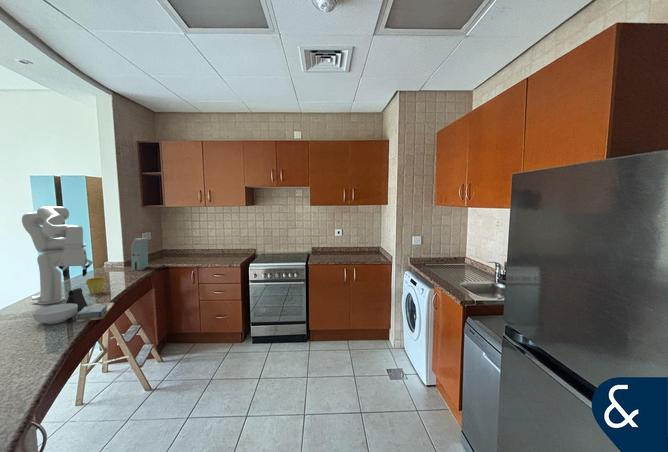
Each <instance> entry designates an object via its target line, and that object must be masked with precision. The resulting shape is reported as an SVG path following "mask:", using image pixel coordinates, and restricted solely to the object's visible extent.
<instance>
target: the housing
mask: <svg viewBox="0 0 668 452" xmlns="http://www.w3.org/2000/svg"><path fill="white" fill-rule="evenodd" d="M106 310H107V305H97V306H91V305H89V306H88V305H87V307H84V308H83V309H82V310H80V311H78V313H76V321H77V320H79V319H87V318H96V317H101V316H102V315H103V314H104V313H105V312H106Z"/></svg>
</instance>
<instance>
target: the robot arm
mask: <svg viewBox="0 0 668 452" xmlns="http://www.w3.org/2000/svg"><path fill="white" fill-rule="evenodd" d="M69 216H70V212H69V209H68V208H66V207H65V206H49V205H48V206H42V207H41V206H40V208H38V209H36V211H33V212H31V211H30V212H27V213H24V214H23V215H22V217H21V223H22V227H23V228H24V229H25V231H26V232H27V233H28V234H29V236H30V237H31V241H32V242H33V246H34V247H35V250H36V251H37V252H38V253H41V254H39V255H38V256H37V259H36V260H37V266H38V268H39V281H40V282H39V283H40V286H39V287H40V294H39V295H38V296H36V295H35V296H31V300H32V301H37V302H36V304H37V305H41V306H42V305H51V304H57V303H61V302H64V301H65V300H66V297H65V296H63V294H62V292H63V291H62V276H63V278H67V277H68V276H69V272H68V271H69V270H68V268H69V267H82V271H81V272H82V277H85V276H86V275H87V274H88V268H89V267H91V266H92V264H94V261H93V260H90V259H88V257H87V251H86V250H87V249H86V247H87V244H85V243H84V228H83V226H81V225H75V224H64V223H65V221H66V220H68V218H69ZM58 268H59V269H60V270H62V273H61V271H60V270H59V269H58Z"/></svg>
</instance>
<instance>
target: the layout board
mask: <svg viewBox="0 0 668 452" xmlns="http://www.w3.org/2000/svg"><path fill="white" fill-rule="evenodd" d="M97 305H107V310H106V312H105V313H104V314H103V315H102V316H101V317H96V318H87V319H79V320H77V319H76V323H79V322H89V321H96V320H103V319H105V317H106V315H107V314H108V313H109V311H111V309H112V308H113V307H114V305H115V302H106V303H105V302H104V303H96V304H95V303H93V304H91V305H90V306H97Z"/></svg>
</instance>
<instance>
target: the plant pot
mask: <svg viewBox="0 0 668 452" xmlns="http://www.w3.org/2000/svg"><path fill="white" fill-rule="evenodd" d="M85 282H86V283H85V284H86V286H87V288H88V289H87V290H88V291H89V294H91V295H95V294H96V295H97V294H101V293H103V289H104V285H105V283H106V278H105V277H92V278H88V279H86V280H85Z"/></svg>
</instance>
